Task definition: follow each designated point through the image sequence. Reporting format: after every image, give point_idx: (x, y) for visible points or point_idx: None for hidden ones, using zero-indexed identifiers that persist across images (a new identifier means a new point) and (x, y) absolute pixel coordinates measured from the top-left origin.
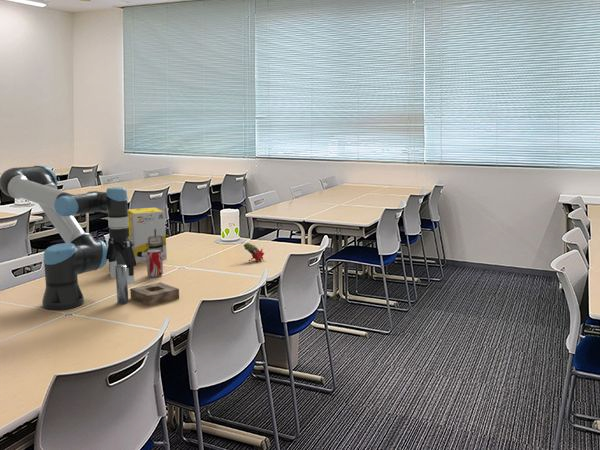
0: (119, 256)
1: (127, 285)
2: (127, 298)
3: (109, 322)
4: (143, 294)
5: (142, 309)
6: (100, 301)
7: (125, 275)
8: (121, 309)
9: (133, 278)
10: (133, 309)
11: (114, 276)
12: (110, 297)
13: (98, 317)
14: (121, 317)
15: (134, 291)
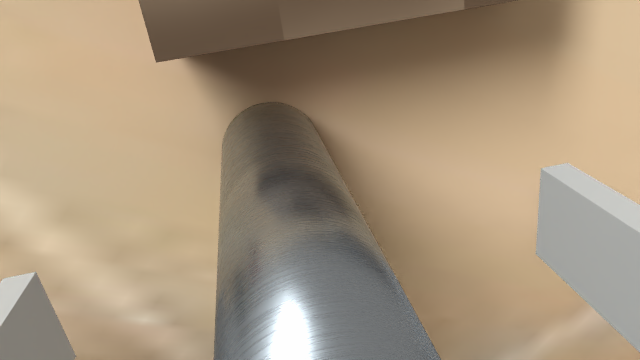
0: None
1: (322, 168)
2: (314, 130)
3: None
4: (477, 6)
5: (560, 71)
6: (134, 294)
7: (394, 277)
8: (446, 208)
9: (620, 204)
10: (509, 132)
11: (48, 327)
12: (36, 202)
13: (498, 355)
14: None
15: (265, 41)
